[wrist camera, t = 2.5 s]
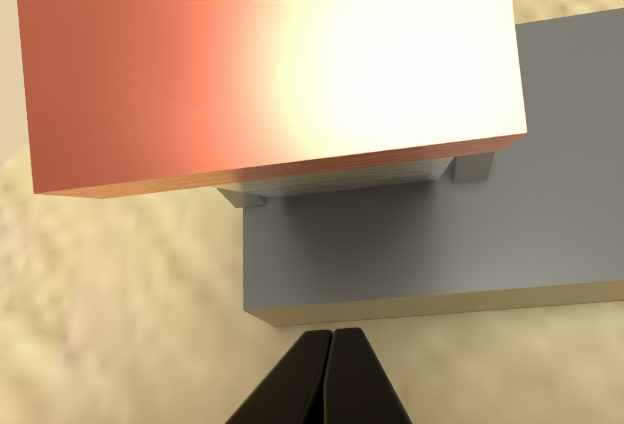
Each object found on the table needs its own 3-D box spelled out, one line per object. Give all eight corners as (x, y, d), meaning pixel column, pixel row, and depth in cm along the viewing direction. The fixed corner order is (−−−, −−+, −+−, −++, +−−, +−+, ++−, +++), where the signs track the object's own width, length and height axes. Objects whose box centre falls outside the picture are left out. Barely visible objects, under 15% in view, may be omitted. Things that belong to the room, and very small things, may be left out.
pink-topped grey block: (448, 190, 13) (526, 132, 4) (268, 210, 14) (33, 193, 5) (437, 99, 13) (496, -135, 5) (259, 123, 14) (13, -38, 5)
